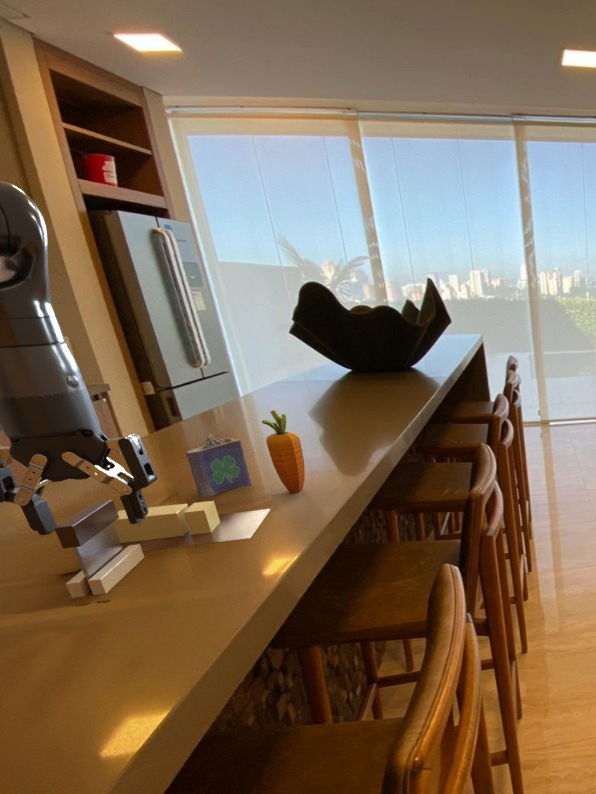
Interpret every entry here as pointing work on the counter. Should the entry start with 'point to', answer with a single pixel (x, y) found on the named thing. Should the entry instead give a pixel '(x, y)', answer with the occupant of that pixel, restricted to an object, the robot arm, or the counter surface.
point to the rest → (106, 574)
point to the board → (227, 530)
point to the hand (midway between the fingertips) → (94, 527)
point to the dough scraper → (92, 536)
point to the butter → (153, 524)
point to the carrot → (286, 454)
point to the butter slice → (202, 517)
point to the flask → (218, 466)
